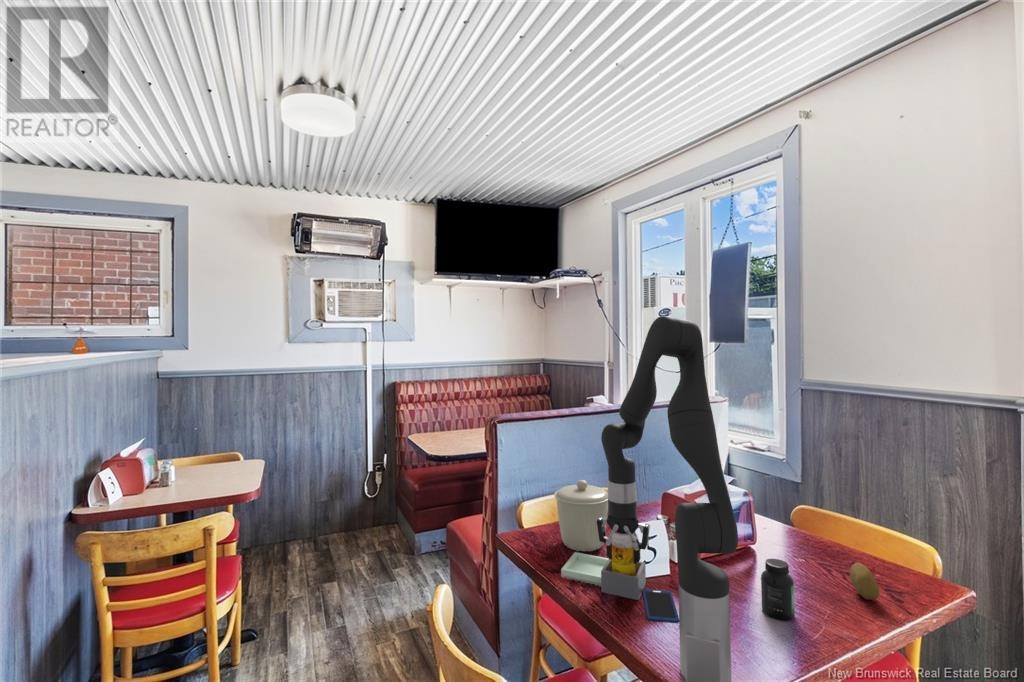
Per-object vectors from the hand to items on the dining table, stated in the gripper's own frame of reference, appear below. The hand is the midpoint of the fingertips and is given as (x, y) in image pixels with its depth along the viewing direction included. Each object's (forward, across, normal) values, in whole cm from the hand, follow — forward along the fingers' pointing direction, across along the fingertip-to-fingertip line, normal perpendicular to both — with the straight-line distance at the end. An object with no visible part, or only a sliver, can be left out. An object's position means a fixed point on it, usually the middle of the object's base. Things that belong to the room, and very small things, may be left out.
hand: (623, 560), depth 126 cm
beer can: (+7, 0, 0) cm, 7 cm away
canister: (+7, -18, +21) cm, 29 cm away
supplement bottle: (+7, +36, +3) cm, 37 cm away
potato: (+7, +56, +20) cm, 60 cm away
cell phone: (+8, +10, -5) cm, 14 cm away
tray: (+7, -11, +4) cm, 14 cm away
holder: (+7, 0, 0) cm, 7 cm away
